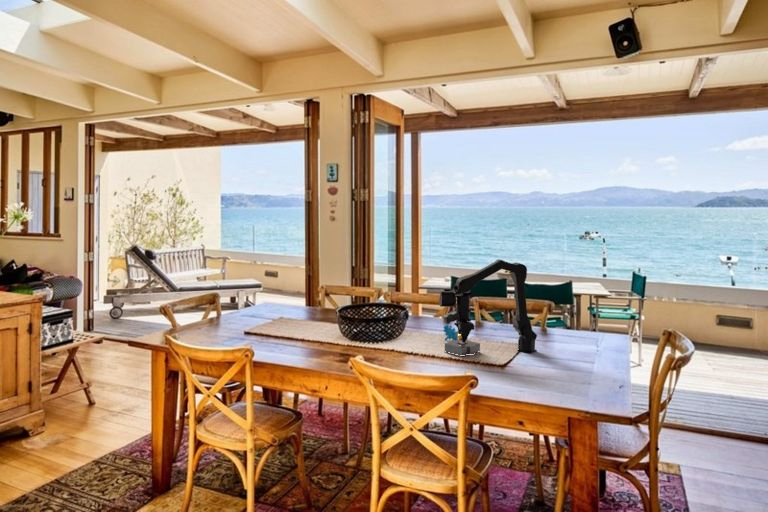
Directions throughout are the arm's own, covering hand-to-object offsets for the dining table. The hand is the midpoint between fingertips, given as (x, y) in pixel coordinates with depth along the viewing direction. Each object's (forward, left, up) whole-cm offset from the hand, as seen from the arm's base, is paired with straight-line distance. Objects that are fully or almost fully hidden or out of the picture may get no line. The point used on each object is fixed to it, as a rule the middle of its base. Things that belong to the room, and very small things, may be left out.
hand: (462, 341), depth 217 cm
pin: (0, 0, -3) cm, 3 cm away
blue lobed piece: (+16, -11, -5) cm, 20 cm away
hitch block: (0, 0, -5) cm, 5 cm away
